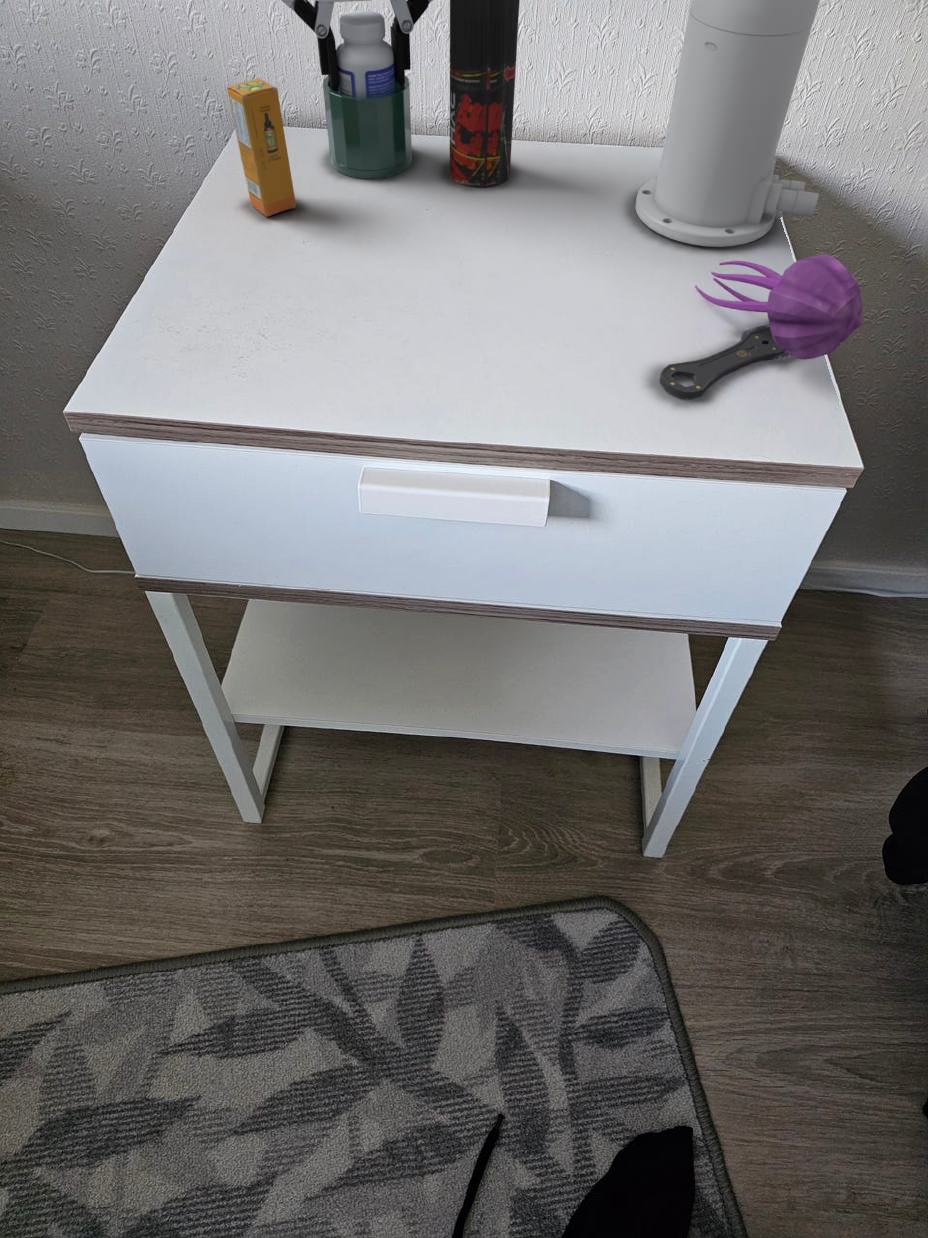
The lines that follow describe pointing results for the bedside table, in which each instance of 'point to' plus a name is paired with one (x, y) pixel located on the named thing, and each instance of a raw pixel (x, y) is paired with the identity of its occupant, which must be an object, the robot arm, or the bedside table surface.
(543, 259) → the bedside table surface
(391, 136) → the cup
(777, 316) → the jellyfish
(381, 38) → the pill bottle
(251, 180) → the supplement box
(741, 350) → the hex hole wrench
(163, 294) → the bedside table surface
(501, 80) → the deodorant
